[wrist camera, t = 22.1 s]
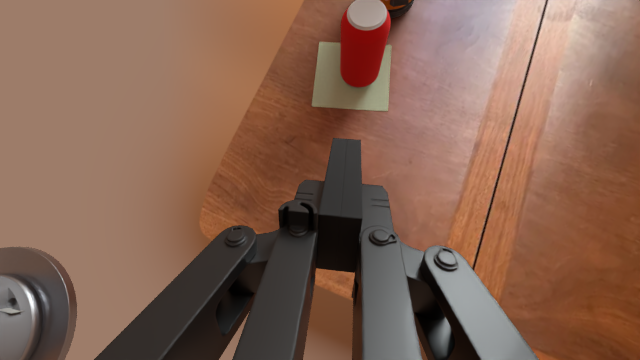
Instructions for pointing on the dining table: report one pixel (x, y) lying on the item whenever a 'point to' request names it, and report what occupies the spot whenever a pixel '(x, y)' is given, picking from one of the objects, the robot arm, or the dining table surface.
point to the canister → (397, 6)
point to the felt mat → (340, 94)
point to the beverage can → (363, 41)
